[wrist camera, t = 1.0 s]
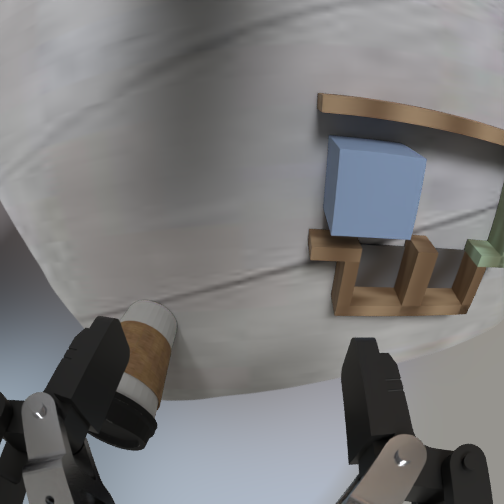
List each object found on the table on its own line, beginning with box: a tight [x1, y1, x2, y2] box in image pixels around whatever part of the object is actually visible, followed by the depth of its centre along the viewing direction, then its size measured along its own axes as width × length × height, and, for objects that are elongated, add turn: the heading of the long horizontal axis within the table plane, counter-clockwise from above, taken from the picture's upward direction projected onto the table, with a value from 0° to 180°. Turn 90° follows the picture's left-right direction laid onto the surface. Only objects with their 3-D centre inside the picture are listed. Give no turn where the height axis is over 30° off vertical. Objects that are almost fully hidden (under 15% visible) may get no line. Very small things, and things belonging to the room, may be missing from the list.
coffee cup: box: [87, 300, 177, 450], centre depth 27 cm, size 8×8×15 cm
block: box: [323, 135, 427, 240], centre depth 21 cm, size 6×6×5 cm
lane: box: [308, 93, 504, 316], centre depth 23 cm, size 20×18×3 cm
